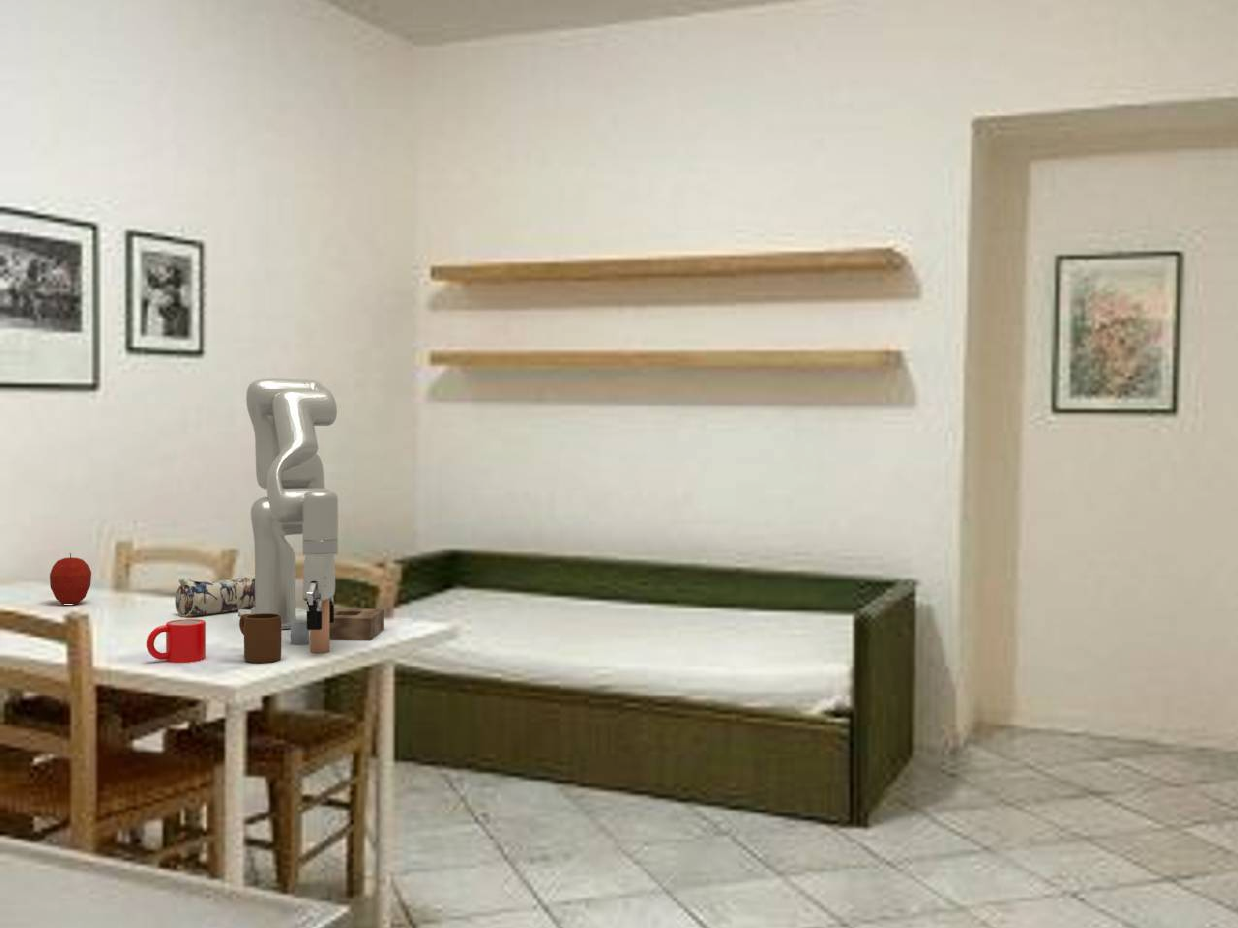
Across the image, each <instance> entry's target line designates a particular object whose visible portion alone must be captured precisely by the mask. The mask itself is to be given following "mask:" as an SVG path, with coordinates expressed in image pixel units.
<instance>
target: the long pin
mask: <svg viewBox="0 0 1238 928" xmlns="http://www.w3.org/2000/svg"><path fill="white" fill-rule="evenodd" d="M317 605H318V602H317ZM320 611H322V629H321V630H309V644H310V647H309V648H310V653H312V654H325V653H329V652H330V639H329V598H328V599H327V600H325V601H322V605H321V610H320Z"/></svg>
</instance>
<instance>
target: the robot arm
mask: <svg viewBox="0 0 1238 928" xmlns="http://www.w3.org/2000/svg"><path fill="white" fill-rule="evenodd" d="M245 397H246V400H245V401H246V408H247V409H246V410H247V412H248V415H249V418H250V422H251V425H252V428H253V432H254V439H255V446H254V447H255V474H256V481H257V484H258V487H260V488H261V489H263V490H266V494H267V496H263V497H260V498H258V499H256V500H255V501H254V502H253V504H252V506H251V509H250V520H251V521H250V522H251V526H252V532H253V540H254V542H253V543H254V575H255V607H253V608H251V609H239V610H237V616H238V617H239V618H240V617H241V616H242V615H244V614H258V613H273V614H279V615H281V630H289V629H290V630H291V621H293V620H302V619H301V618H298V617H296V553H295V552H296V551H295V549H294V548H293V546H292V545H291V544H290V543H289V542H288V540H287V539H286V536H291V535H293V536H294V535H297V536H298V535H302V556H304V562H303V563H304V564H303V573H302V600H303V601H305V602H306V620H307V630H309V631H310V630H321V629H322V611H320V610H321V605H322V601H325V600H327V599H328V598H329V623H333V622H334V608H335V605H334V603H335V600H334V599H335V598H334V595H335V592H336V567H335V556H336V555H338V554H339V500H338V499H339V498H338V497H339V496H338V495H337V493H336V492H334V491H332V490H331V491H330V490H329V489H327V488H325V471H324V466H323V465H324V464H323V461H322V459H321V457H320V456H319V454H318V452H319V443H318V437H317V432H316V428H315V427H328V426H329V427H330V426H331V425H333V424H334V423H335V421H336V419H337V415H338V407H337V402H336V400H335V397H334V395H333V394H332V392H331V390H329V389H328V388H327V387H326V386H325V385H323V384H322V383H321V382H319V381H318V380H316V379H315V380H314V379H303V378H301V379H300V378H297V379H296V378H295V379H294V378H293V379H292V378H261V379H257V380H254V381H252V382H251V383H250V384H249V385H248V387H247V391H246V396H245ZM317 602H318V605H317Z"/></svg>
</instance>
